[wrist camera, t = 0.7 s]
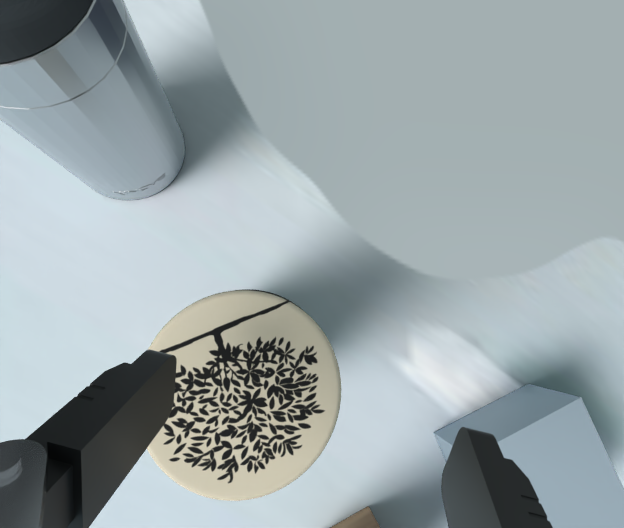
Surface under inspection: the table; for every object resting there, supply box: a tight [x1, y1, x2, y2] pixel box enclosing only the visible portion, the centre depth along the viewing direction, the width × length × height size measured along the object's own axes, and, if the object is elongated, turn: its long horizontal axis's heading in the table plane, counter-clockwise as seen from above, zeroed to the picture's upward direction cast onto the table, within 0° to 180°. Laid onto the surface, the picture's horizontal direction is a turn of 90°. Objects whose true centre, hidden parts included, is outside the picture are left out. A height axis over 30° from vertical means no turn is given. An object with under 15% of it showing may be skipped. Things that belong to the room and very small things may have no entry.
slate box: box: [434, 384, 624, 528], centre depth 30 cm, size 10×10×6 cm
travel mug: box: [147, 290, 341, 501], centre depth 22 cm, size 8×8×18 cm
